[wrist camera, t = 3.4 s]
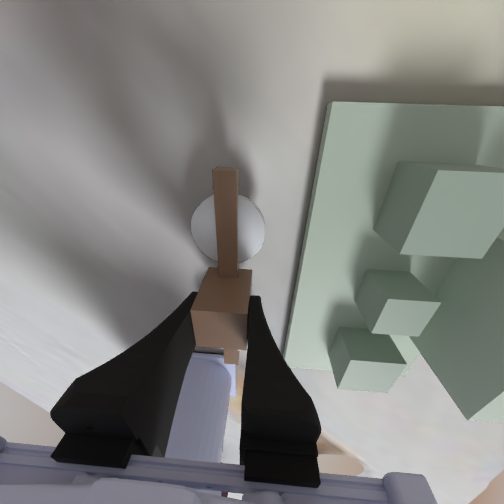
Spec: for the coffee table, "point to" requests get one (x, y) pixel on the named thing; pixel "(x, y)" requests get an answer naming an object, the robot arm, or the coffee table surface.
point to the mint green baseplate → (406, 252)
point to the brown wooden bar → (225, 264)
